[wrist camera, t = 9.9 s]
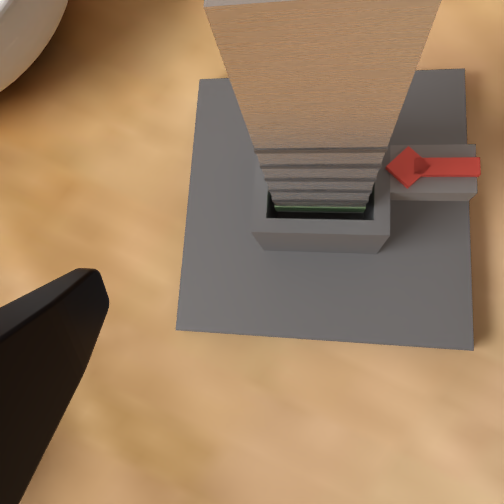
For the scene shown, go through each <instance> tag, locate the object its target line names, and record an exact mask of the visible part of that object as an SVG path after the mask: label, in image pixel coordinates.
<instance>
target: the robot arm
mask: <svg viewBox="0 0 504 504" xmlns="http://www.w3.org/2000/svg"><path fill="white" fill-rule="evenodd" d="M108 308H109V298H108V295H107V292H106V289H105V286H104V283H103V280H102V277H101V274H100V273H99V271H98V270H96V269H90V268H78V269H75V270H73V271H71V272H69V273H67V274H65V275H63V276H61V277H59V278H57V279H55V280H53V281H52V282H50V283H48V284H46V285H44V286H42V287H40V288H38V289H36V290H34V291H32V292H30V293H28V294H26V295H24V296H22V297H20V298H18V299H16V300H14V301H12V302H10V303H8V304H7V305H5V306H3V307H1V308H0V504H19V503H20V501H21V499H22V497H23V495H24V493H25V491H26V489H27V487H28V485H29V483H30V481H31V479H32V477H33V475H34V473H35V471H36V469H37V467H38V465H39V463H40V461H41V459H42V457H43V455H44V453H45V451H46V449H47V447H48V445H49V443H50V441H51V439H52V437H53V435H54V433H55V431H56V429H57V427H58V425H59V423H60V421H61V419H62V417H63V415H64V413H65V411H66V409H67V407H68V405H69V403H70V401H71V399H72V397H73V395H74V393H75V391H76V389H77V387H78V385H79V383H80V380H81V378H82V376H83V374H84V372H85V370H86V367H87V365H88V362H89V360H90V357H91V354H92V352H93V349H94V346H95V344H96V341H97V338H98V336H99V333H100V330H101V328H102V325H103V322H104V320H105V317H106V314H107V312H108Z"/></svg>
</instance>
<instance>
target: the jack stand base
mask: <svg viewBox="0 0 504 504" xmlns="http://www.w3.org/2000/svg"><path fill="white" fill-rule="evenodd" d="M480 175H481V171H480V157H476V144H467V125H466V94H465V69H441V70H417V71H415V73H414V76H413V79H412V81H411V84H410V87H409V89H408V92H407V95H406V98H405V100H404V103H403V106H402V108H401V111H400V114H399V117H398V119H397V122H396V125H395V127H394V130H393V133H392V136H391V138H390V141H389V144H388V151H387V153H385V155H384V157H383V160H382V167H381V169H379V171H378V173H377V180H376V182H374V184H373V187H372V193H370V195H369V201H368V203H366V209H365V212H363V213H324V212H277V211H276V210H275V204H274V202H272V196H271V193H270V192H269V191H268V185H267V182H266V181H265V180H264V174H263V171H262V169H260V166H259V160H258V157H257V154H255V153H254V146H253V143H252V140H251V137H250V135H249V132H248V129H247V126H246V124H245V121H244V118H243V115H242V112H241V110H240V107H239V104H238V101H237V99H236V96H235V93H234V90H233V87H232V85H231V82H230V79H229V78H221V79H200V81H199V91H198V102H197V112H196V123H195V133H194V144H193V154H192V164H191V175H190V185H189V196H188V206H187V217H186V227H185V238H184V248H183V259H182V269H181V279H180V290H179V300H178V311H177V321H176V330H181V331H195V332H210V333H224V334H239V335H253V336H268V337H282V338H297V339H311V340H326V341H340V342H355V343H369V344H384V345H398V346H413V347H427V348H441V349H456V350H470V351H474V340H473V310H472V279H471V248H470V217H469V200H470V199H471V198H472V197H474V196H475V195H476V194H477V177H479V176H480Z"/></svg>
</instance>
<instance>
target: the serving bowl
mask: <svg viewBox="0 0 504 504" xmlns="http://www.w3.org/2000/svg"><path fill="white" fill-rule="evenodd" d="M67 3H68V0H0V92H1V91H2V90H3V89H5V88H6V87H7V86H9V85H10V84H11V83H12V82H14V81H15V80H16V79H17V78H18V77H19V76H20V75H21V74H22V73H24V72H25V71H26V70H27V69H28V68H29V66H30V65H31V64H32V63H33V62H34V61H35V60H36V58H37V57H38V56H39V55H40V54H41V52H42V51H43V49H44V48H45V47H46V45H47V44H48V42H49V41H50V39H51V38H52V36H53V34H54V33H55V31H56V29H57V27H58V25H59V23H60V21H61V18H62V16H63V13H64V11H65V9H66V6H67Z"/></svg>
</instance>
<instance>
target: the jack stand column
mask: <svg viewBox="0 0 504 504" xmlns="http://www.w3.org/2000/svg"><path fill="white" fill-rule="evenodd" d="M440 3H441V0H204V10H205V12H206V15H207V18H208V21H209V23H210V26H211V29H212V32H213V35H214V37H215V40H216V43H217V46H218V48H219V51H220V54H221V57H222V60H223V62H224V65H225V68H226V71H227V73H228V76H229V79H230V82H231V85H232V87H233V90H234V93H235V96H236V99H237V101H238V104H239V107H240V110H241V112H242V115H243V118H244V121H245V124H246V126H247V129H248V132H249V135H250V137H251V140H252V143H253V146H254V153H255V154H257V157H258V160H259V166H260V169H262V171H263V174H264V180H265V181H266V182H267V185H268V191H269V192H270V193H271V196H272V202H274V204H275V210H276V211H277V212H324V213H363V212H365V209H366V203H368V201H369V195H370V193H372V187H373V184H374V182H376V180H377V173H378V171H379V169H381V167H382V160H383V157H384V155H385V153H387V151H388V144H389V141H390V138H391V136H392V133H393V130H394V127H395V125H396V122H397V119H398V117H399V114H400V111H401V108H402V106H403V103H404V100H405V98H406V95H407V92H408V89H409V87H410V84H411V81H412V79H413V76H414V73H415V71H416V68H417V65H418V62H419V60H420V57H421V54H422V52H423V49H424V46H425V43H426V41H427V38H428V35H429V33H430V30H431V27H432V24H433V22H434V19H435V16H436V14H437V11H438V8H439V5H440Z"/></svg>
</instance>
